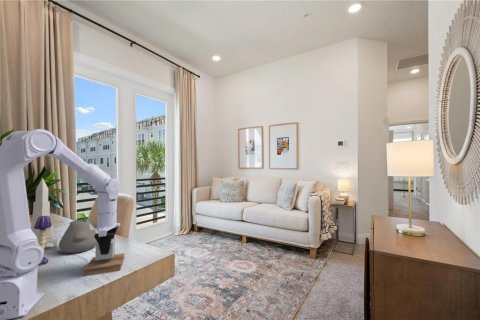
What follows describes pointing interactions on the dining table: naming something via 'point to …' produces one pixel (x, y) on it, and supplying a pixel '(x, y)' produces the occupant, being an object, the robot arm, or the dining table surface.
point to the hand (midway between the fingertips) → (106, 251)
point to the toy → (78, 237)
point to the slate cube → (106, 256)
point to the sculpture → (42, 211)
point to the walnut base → (105, 265)
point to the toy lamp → (43, 233)
